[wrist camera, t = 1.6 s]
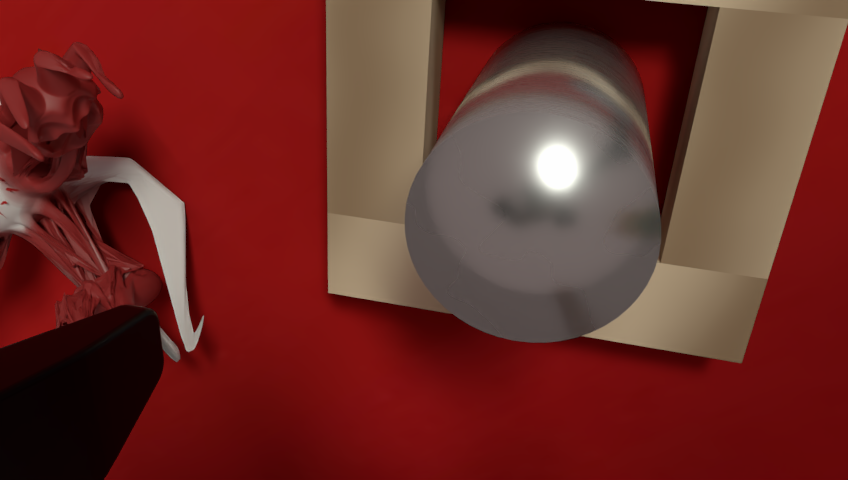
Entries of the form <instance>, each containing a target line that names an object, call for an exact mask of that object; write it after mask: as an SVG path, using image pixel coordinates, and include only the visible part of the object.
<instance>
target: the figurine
mask: <svg viewBox="0 0 848 480" xmlns="http://www.w3.org/2000/svg"><path fill="white" fill-rule="evenodd" d="M34 65H35V67H27V68H23V69H21V70H19V71H18V72H17V73H15V74H14V76H13V77H5V78H2V79H0V269H1V268H2V267H3V264H4V261H5V259H6V255H7V251H8V247H9V243H10V240H11V236H12V234H15V235H18V236H20V237H22V238H24V239H25V240H27V241H28V242H30V243H31V244H33V245H34V246H35V247H36V248H37V249H38V250H39V251H41V252H42V253H43V254H44V255H45V256H46V257H47V258H48V259H49V260H50V261H51V262H52V263H53V264H54V265H55V266H56V267H57V268H58V269H59V270H60V271H61V272H62V273H63V274H64V275H66V276H67V277H68V278H69V279H70V280H71V281H72V282H73V283H74V284H75V285H76V286H77V288H76V289H75V291H74V294H73V295H65V293H64V295H63V300H62V301H61V302H59V301H57V302H56V304H55V312H56V326H57V327H56V328H59V327H61V326H64V325H67V324H70V323H73V322H75V321H78V320H81V319H84V318H87V317H89V316H92V315H95V314H98V313H101V312H103V311H106V310H109V309H112V308H115V307H117V306H120V305H125V304H128V305H135V306H140V307H145V306H147V305H148V304H150V303H151V302H152V301H153V300H155V298H156V297H157V296H158V295H159V293H160V291H161V288H162V281H161V279H160V277H159V276H158V275H157V274H156V273H154V272H152V271H150V270H147V269H142V267H144V265H143V264H141V263H139V262H137V261H135V260H133V259H132V258H130V257H128V256H126V255H124V254H122V253H121V252H119V251H117V250H115V249H114V248H112V247H110V246H108V245H107V244H105V243H103V240H102V238H101V236H100V233H99V230H98V228H97V225H96V222H95V220H94V217H93V214H92V212H91V209H90V204H91V202H92V200H93V198H94V196H95V195H96V193H97V191H98V189H99V187H100V185H102V184H104V183H106V182H120V183H128V184H129V185H130V186H131V188H132V190H133V191H134V193H135V195H136V196H137V198H138V200H139V202H140V204H141V207H142V209H143V211H144V213H145V216H146V218H147V220H148V222H149V225H150V227H151V229H152V232H153V235H154V239H155V243H156V246H157V250H158V254H159V257H160V261H161V265H162V268H163V272H164V276H165V279H166V283H167V287H168V290H169V294H170V298H171V302H172V305H173V309H174V313H175V316H176V320H177V324H178V327H179V331H180V335H181V338H182V340H183V343H184V346H185V349H186V351H188V352H190V351H192V350H194V348H195V347H196V344H197V342H198V339H199V336H200V333H201V329H202V325H203V320H204V315H203V317H202V319H201V322H200V324H199V326H198V328H197V330H196V332H195V333H194V332H193V328H192V324H191V319H190V315H189V307H188V298H187V288H186V218H185V204H184V202H183V201H181V200H180V199H179V198H178V197H177V196H176V195H174V194H173V193H172V192H171V191H170V190H169V189H167V188H166V187H165V186H164V185H163V184H162V183H160V182H159V181H158V180H157V179H156V178H155V177H153V176H152V175H151V174H150V173H149V172H147V171H146V170H145V169H144V168H143V167H141V166H140V165H139V164H138V163H136V162H135V161H134V160H132V159H130V158H126V157H105V156H86V154H87V142H88V141H89V139H90V137H91V136H92V134H93V133H94V131H95V130H96V129H97V128H98V126H99V125H100V124H101V123H102V120H103V107H102V105H101V104H100V103H99V101H98V100H97V95H98V94H100V93H101V91H100V89H99V88H98V86H97V85H96V84H95V83H94V82H93V81H92V80H91V79H92V78H93V76H92V74H91V71H92V72H93V73H94V74H95V75H96V76H97V77H98V79H99V80H100V81H101V83H102V84H103V85H104V86H105V87H106V88H107V89H108V90H109V91H110V92H111V93H112V94H113V95H114V96H116V97H117V98H120V99H122V98H123V93H122V92H121V91H120V89H118V88H117V87H116V86H115V85H114V83H113V82H111V81H110V80H109V79H108V78H107V77H106V76H105V74H104V72H103V70H102V67H101V64H100V62H99V60H98V58H97V57H96V55H95V54H94V53H93V51H92V50H90V49H89V48H88V47H87V46H86V45H84V44H82V43H79V42H76V43H75V42H74V43H73V44H72V45H71V47H70V48H69V49H68V51H67V52H66V53H65V55H64V56H63V57H62V58H61V57H59V56H57V55H55V54H52V53H50V52H48V51H44V50H41V49H38V52H37V53H36V54H35V55H34ZM74 205H75V206H74ZM75 207H76V208H77V209H78V211H79V212H80V213H81V215H82V216H83V218H84V219H85V220H86V225H87V227H88V228H89V229H90V231H91V232H92V233H93V234H92V233H91V232H90V231H89V229H88V228H87V227H86V225H85V224H84V223H83V221H82V220H81V218H80V216H79V214H78V212H77V210H76V208H75ZM69 215H70V217H71V218H72V220H73V221H74V223H73V222H72V221H71V220H70V217H69ZM82 269H83V270H84V272H83V270H82ZM160 333H161V341H162V349H163V350H164V351H165V352H166V353H167V354H168V355H169V356H170V357H171V358H172V359H173V360H174V361H176V362H178V361H179V360H180V352H179V349H178V347H177V345H176V344H175V343H174V342H173V341H172V340H171V339H170V338H169V337H168V336H167V335H166V333H165V332H164V331H163V330H162V328H161V327H160Z"/></svg>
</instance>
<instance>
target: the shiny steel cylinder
mask: <svg viewBox="0 0 848 480" xmlns="http://www.w3.org/2000/svg"><path fill="white" fill-rule="evenodd" d="M405 236H406V242H407V247H408V250H409V254H410V257H411V260H412V262H413V265H414V267H415V269H416V271H417V273H418V275H419V277H420V278H421V280H422V281H423V283H424V285H425V286H426V288H427V289H428V290H429V291H430V293H431V294H432V295H433V296H434V297H435V299H437V300H438V301H439V302H440V303H441V304H442V305H443V306H444V307H445V308H446V309H447V310H448V311H450V312H451V313H452V314H453V315H455V316H456V317H457V318H459V319H461V320H462V321H464V322H465V323H467V324H469V325H470V326H472V327H475V328H477V329H479V330H481V331H483V332H485V333H488V334H491V335H494V336H497V337H500V338H505V339H509V340H513V341H521V342H533V343H546V342H556V341H563V340H568V339H573V338H577V337H580V336H583V335H585V334H588V333H591V332H593V331H595V330H597V329H599V328H602V327H604V326H605V325H607V324H608V323H610V322H612V321H613V320H615V319H616V318H618V317H619V316H620V315H621V314H622V313H624V312H625V311H626V310H627V309H628V308H629V307H630V306H631V305H632V304H633V303H634V302H635V301H636V300H637V299H638V297H639V296H640V295H641V293H642V292H643V290H644V289H645V287H646V286H647V284H648V282H649V280H650V278H651V276H652V274H653V272H654V270H655V267H656V263H657V260H658V257H659V252H660V245H661V219H660V211H659V204H658V196H657V188H656V180H655V173H654V165H653V157H652V149H651V142H650V134H649V126H648V118H647V111H646V103H645V95H644V89H643V84H642V81H641V77H640V74H639V72H638V70H637V68H636V66H635V64H634V62H633V61H632V59H631V58H630V56H629V55H628V54H627V53H626V51H625V50H624V49H623V48H622V47H621V46H620V45H619V44H618V43H616V42H615V41H614V40H613V39H612V38H610V37H608V36H607V35H605V34H604V33H602V32H600V31H598V30H596V29H593V28H591V27H588V26H584V25H581V24H575V23H566V22H555V23H546V24H542V25H537V26H534V27H531V28H528V29H526V30H523V31H522V32H520V33H518V34H516V35H514V36H513V37H511V38H510V39H509V40H507V41H506V42H504V43H503V44H502V45H501V46H500V47H499V48H498V49H497V50H496V51H495V52H494V54H493V55H492V56H491V57H490V59H489V60H488V62H487V63H486V65H485V67H484V68H483V70H482V71H481V73H480V74H479V76H478V78H477V79H476V81H475V82H474V84H473V85H472V87H471V89H470V90H469V92H468V93H467V95H466V97H465V98H464V100H463V101H462V103H461V104H460V106H459V108H458V109H457V111H456V112H455V114H454V115H453V117H452V119H451V120H450V122H449V123H448V125H447V127H446V128H445V130H444V131H443V133H442V134H441V136H440V138H439V139H438V141H437V142H436V144H435V145H434V147H433V149H432V150H431V152H430V153H429V155H428V157H427V158H426V160H425V161H424V163H423V165H422V166H421V168H420V169H419V171H418V173H417V174H416V176H415V179H414V181H413V183H412V186H411V188H410V191H409V195H408V198H407V202H406V210H405Z"/></svg>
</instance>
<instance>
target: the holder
mask: <svg viewBox="0 0 848 480" xmlns="http://www.w3.org/2000/svg"><path fill="white" fill-rule="evenodd" d="M647 1H658V2H669V3H680V4H691V5H701V6H708V10H707V14H706V19H705V23H704V28H703V32H702V37H701V41H700V45H699V50H698V54H697V59H696V63H695V68H694V72H693V77H692V81H691V86H690V90H689V94H688V99H687V103H686V108H685V112H684V117H683V121H682V126H681V130H680V134H679V139H678V143H677V148H676V152H675V157H674V161H673V166H672V170H671V175H670V179H669V183H668V188H667V192H666V197H665V201H664V206H663V210H662V215H661V245H660V252H659V257H658V260H657V263H656V267H655V270H654V272H653V274H652V276H651V278H650V280H649V282H648V284H647V286H646V287H645V289H644V290H643V292H642V293H641V295H640V296H639V297H638V299H637V300H636V301H635V302H634V303H633V304H632V305H631V306H630V307H629V308H628V309H627V310H626V311H625V312H624V313H622V314H621V315H620V316H619V317H618V318H616V319H615V320H613V321H612V322H610V323H608V324H607V325H605V326H604V327H602V328H599V329H597V330H595V331H593V332H591V333H588V334H585V335H583V336H585V337H590V338H596V339H602V340H608V341H614V342H620V343H626V344H631V345H637V346H643V347H649V348H655V349H661V350H667V351H673V352H678V353H684V354H690V355H696V356H702V357H708V358H714V359H719V360H725V361H731V362H737V363H742V360H743V357H744V354H745V351H746V347H747V344H748V341H749V338H750V335H751V331H752V328H753V325H754V322H755V318H756V315H757V312H758V309H759V306H760V302H761V299H762V296H763V293H764V290H765V286H766V283H767V280H768V277H769V274H770V270H771V267H772V264H773V261H774V258H775V254H776V251H777V248H778V245H779V242H780V238H781V235H782V232H783V229H784V226H785V222H786V219H787V216H788V213H789V210H790V206H791V203H792V200H793V197H794V194H795V190H796V187H797V184H798V181H799V178H800V174H801V171H802V168H803V165H804V162H805V158H806V155H807V152H808V149H809V146H810V142H811V139H812V136H813V133H814V130H815V126H816V123H817V120H818V117H819V113H820V110H821V107H822V104H823V101H824V97H825V94H826V91H827V88H828V85H829V81H830V78H831V75H832V72H833V69H834V65H835V62H836V59H837V56H838V53H839V49H840V46H841V43H842V40H843V37H844V33H845V30H846V27H847V24H848V0H647ZM445 3H446V0H326V63H327V202H328V293H332V294H338V295H344V296H350V297H356V298H362V299H368V300H373V301H379V302H385V303H391V304H397V305H403V306H409V307H414V308H420V309H426V310H432V311H438V312H444V313H450V314H452V313H451V312H450V311H448V310H447V309H446V308H445V307H444V306H443V305H442V304H441V303H440V302H439V301H438V300H437V299H435V297H434V296H433V295H432V294H431V293H430V291H429V290H428V289H427V288H426V286H425V285H424V283H423V281H422V280H421V278H420V277H419V275H418V273H417V271H416V269H415V267H414V265H413V262H412V260H411V257H410V254H409V250H408V247H407V242H406V236H405V210H406V202H407V198H408V195H409V191H410V188H411V186H412V183H413V181H414V179H415V176H416V174H417V173H418V171H419V169H420V168H421V166H422V165H423V163H424V161H425V160H426V158H427V157H428V155H429V153H430V152H431V150H432V149H433V147H434V145H435V144H436V141H437V126H438V111H439V95H440V80H441V64H442V49H443V34H444V18H445Z"/></svg>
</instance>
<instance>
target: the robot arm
mask: <svg viewBox="0 0 848 480" xmlns="http://www.w3.org/2000/svg"><path fill="white" fill-rule="evenodd" d="M163 365H164V357H163V349H162V341H161V333H160V325H159V319H158V316H157V314H156V312H155V311H154V310H152V309H151V308H146V307H140V306H135V305H128V304H125V305H120V306H117V307H115V308H112V309H109V310H106V311H103V312H101V313H98V314H95V315H92V316H89V317H87V318H84V319H81V320H78V321H75V322H73V323H70V324H67V325H64V326H61V327H59V328H56V329H53V330H50V331H47V332H45V333H42V334H39V335H36V336H33V337H30V338H28V339H25V340H22V341H19V342H16V343H14V344H11V345H8V346H5V347H2V348H0V480H104V478H105V477H106V475H107V474H108V472H109V470H110V469H111V467H112V465H113V463H114V462H115V460H116V458H117V456H118V455H119V453H120V451H121V449H122V447H123V445H124V444H125V442H126V440H127V438H128V436H129V434H130V433H131V431H132V429H133V427H134V425H135V423H136V422H137V420H138V418H139V416H140V414H141V412H142V411H143V409H144V407H145V405H146V403H147V401H148V400H149V398H150V396H151V394H152V392H153V390H154V388H155V387H156V385H157V383H158V381H159V379H160V377H161V374H162V371H163Z"/></svg>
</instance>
